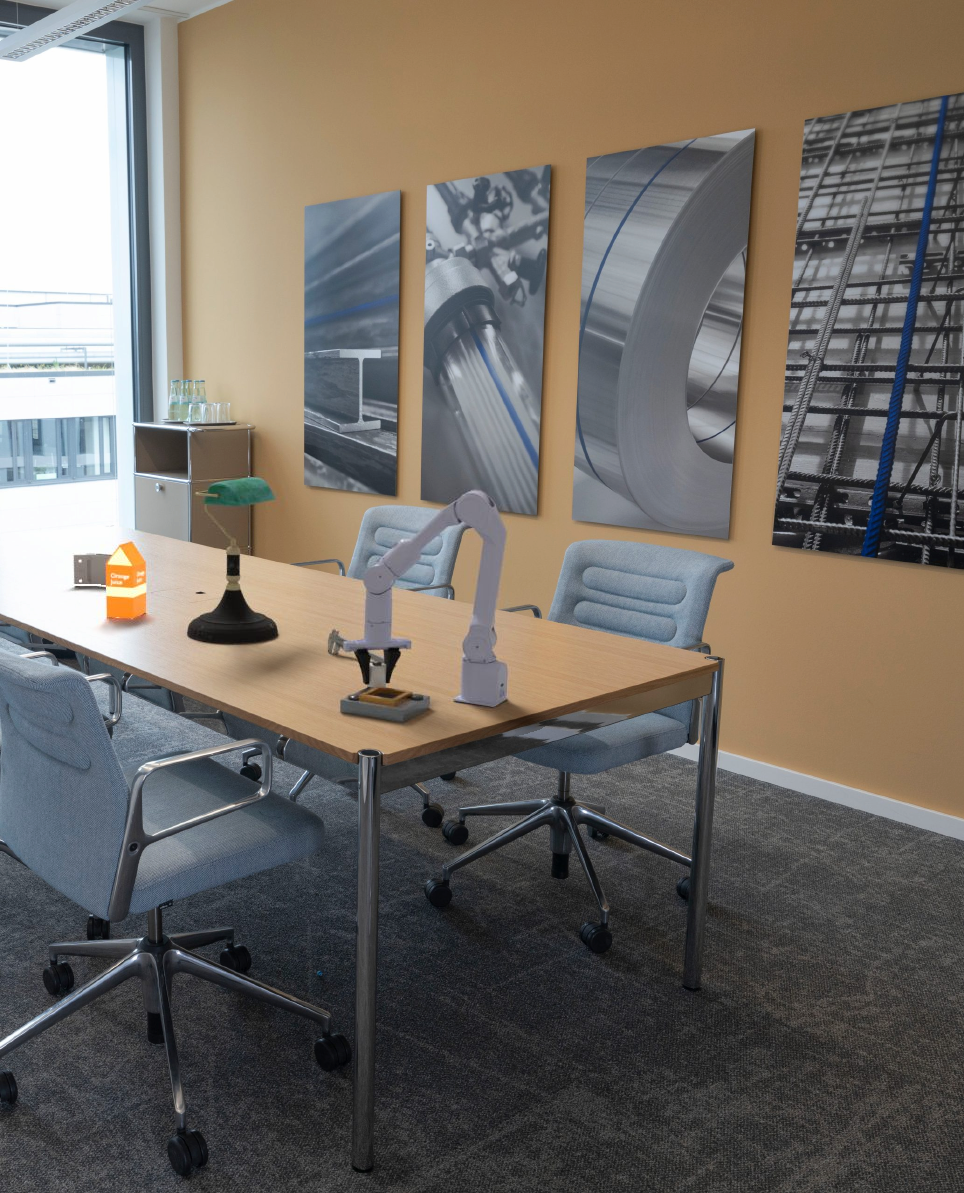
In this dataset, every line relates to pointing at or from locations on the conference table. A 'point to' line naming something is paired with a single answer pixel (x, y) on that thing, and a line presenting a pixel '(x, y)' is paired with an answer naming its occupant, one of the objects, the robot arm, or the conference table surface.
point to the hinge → (90, 568)
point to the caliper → (339, 644)
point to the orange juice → (126, 582)
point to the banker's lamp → (234, 574)
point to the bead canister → (377, 674)
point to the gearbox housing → (385, 703)
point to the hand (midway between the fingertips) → (376, 682)
